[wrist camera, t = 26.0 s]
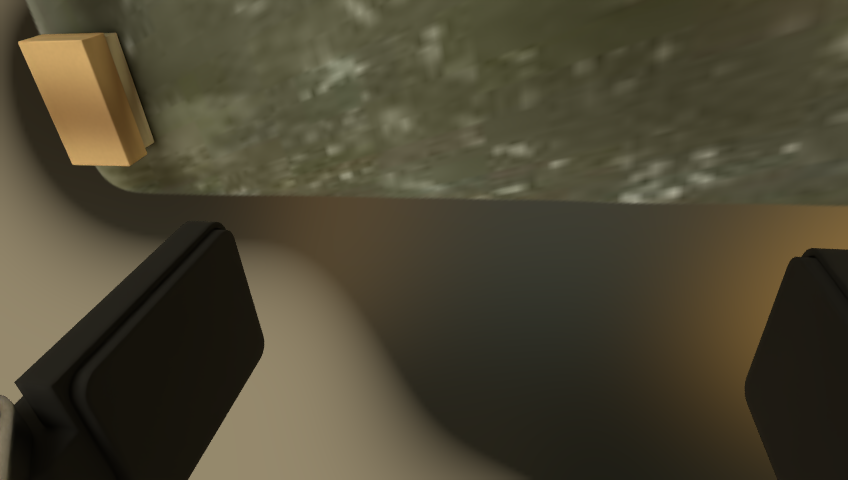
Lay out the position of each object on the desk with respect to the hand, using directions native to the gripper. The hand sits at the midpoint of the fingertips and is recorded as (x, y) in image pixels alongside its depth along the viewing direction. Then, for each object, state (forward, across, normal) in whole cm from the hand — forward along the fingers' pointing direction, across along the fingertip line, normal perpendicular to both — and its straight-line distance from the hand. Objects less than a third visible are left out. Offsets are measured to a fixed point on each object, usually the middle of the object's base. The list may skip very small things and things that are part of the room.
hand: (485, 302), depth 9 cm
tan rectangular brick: (+24, +27, +4) cm, 37 cm away
